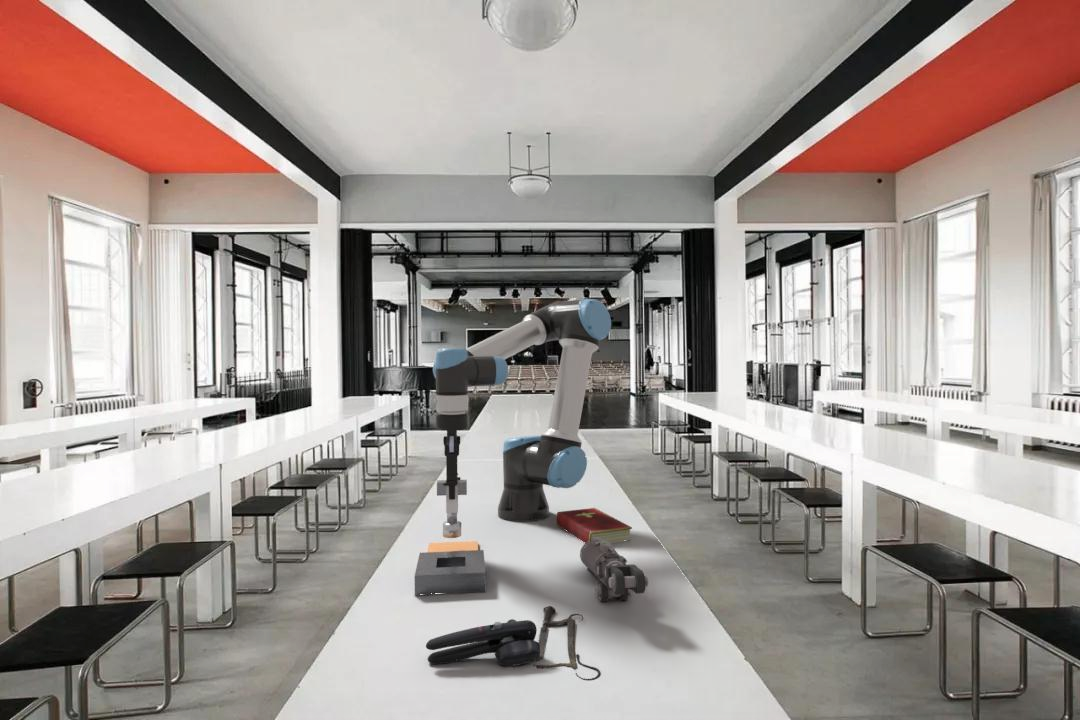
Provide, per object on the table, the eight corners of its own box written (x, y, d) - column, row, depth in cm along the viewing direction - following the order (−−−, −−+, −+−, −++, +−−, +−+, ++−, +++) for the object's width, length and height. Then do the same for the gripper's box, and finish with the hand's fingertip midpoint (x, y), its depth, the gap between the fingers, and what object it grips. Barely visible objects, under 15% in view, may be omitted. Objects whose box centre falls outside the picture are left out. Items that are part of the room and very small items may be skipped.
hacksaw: (542, 610, 115) (542, 603, 115) (597, 613, 114) (598, 605, 114) (531, 685, 91) (531, 675, 91) (600, 689, 90) (600, 679, 90)
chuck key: (466, 532, 150) (466, 479, 150) (466, 537, 146) (466, 482, 145) (437, 533, 149) (437, 479, 149) (436, 538, 145) (436, 483, 145)
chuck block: (483, 567, 138) (483, 549, 137) (485, 592, 124) (485, 572, 124) (419, 570, 136) (419, 552, 136) (414, 595, 122) (414, 575, 122)
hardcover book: (589, 548, 152) (589, 531, 152) (556, 526, 171) (556, 511, 171) (632, 542, 156) (631, 526, 156) (594, 521, 176) (594, 506, 176)
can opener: (536, 645, 101) (536, 611, 101) (542, 666, 94) (541, 629, 94) (427, 652, 99) (426, 617, 99) (424, 674, 92) (424, 637, 92)
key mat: (477, 544, 154) (477, 541, 154) (478, 560, 142) (478, 556, 142) (429, 546, 153) (429, 543, 153) (426, 562, 141) (425, 559, 141)
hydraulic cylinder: (613, 620, 105) (611, 560, 107) (574, 578, 141) (573, 533, 143) (655, 618, 106) (652, 558, 108) (606, 576, 142) (604, 531, 144)
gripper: (437, 409, 155) (437, 502, 155) (434, 416, 139) (434, 520, 139) (467, 409, 155) (467, 501, 156) (467, 415, 140) (468, 518, 140)
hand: (452, 510), depth 147 cm, fingers closed on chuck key, 3 cm apart
